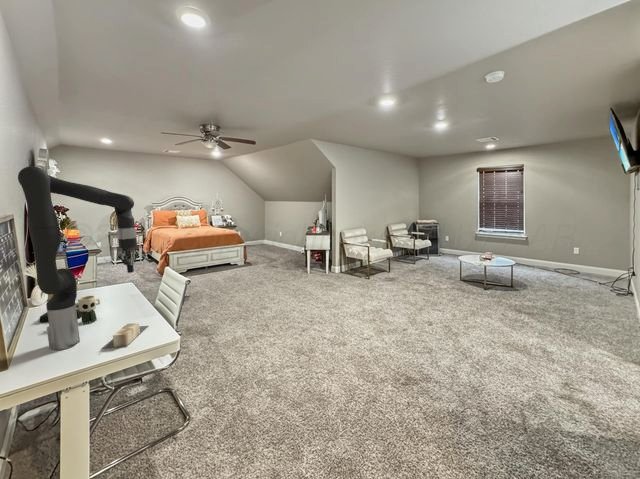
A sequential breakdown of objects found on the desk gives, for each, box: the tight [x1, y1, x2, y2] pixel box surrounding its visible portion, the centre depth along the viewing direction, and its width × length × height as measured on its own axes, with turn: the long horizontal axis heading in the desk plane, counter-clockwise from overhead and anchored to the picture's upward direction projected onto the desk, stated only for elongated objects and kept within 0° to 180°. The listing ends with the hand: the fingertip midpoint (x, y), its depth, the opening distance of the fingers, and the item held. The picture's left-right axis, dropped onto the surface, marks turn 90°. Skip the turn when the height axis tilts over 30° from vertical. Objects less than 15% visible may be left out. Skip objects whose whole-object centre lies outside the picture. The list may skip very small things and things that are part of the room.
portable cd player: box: [38, 305, 83, 324], centre depth 162 cm, size 16×17×4 cm
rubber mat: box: [100, 325, 149, 350], centre depth 134 cm, size 10×22×1 cm, turn 7°
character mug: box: [75, 295, 101, 324], centre depth 152 cm, size 11×7×13 cm, turn 141°
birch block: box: [112, 322, 141, 347], centre depth 131 cm, size 5×5×12 cm
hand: (130, 272), depth 145 cm, fingers closed
